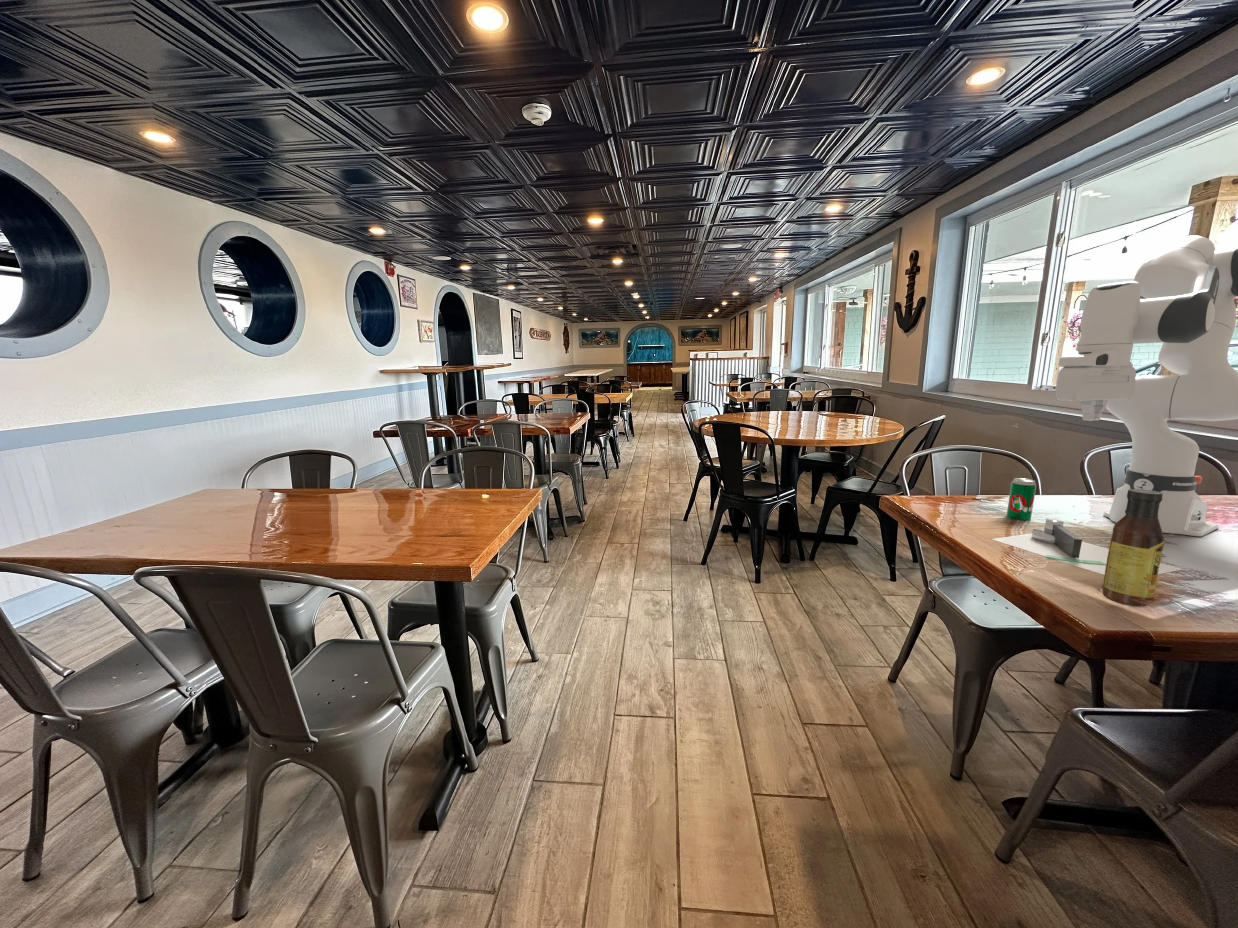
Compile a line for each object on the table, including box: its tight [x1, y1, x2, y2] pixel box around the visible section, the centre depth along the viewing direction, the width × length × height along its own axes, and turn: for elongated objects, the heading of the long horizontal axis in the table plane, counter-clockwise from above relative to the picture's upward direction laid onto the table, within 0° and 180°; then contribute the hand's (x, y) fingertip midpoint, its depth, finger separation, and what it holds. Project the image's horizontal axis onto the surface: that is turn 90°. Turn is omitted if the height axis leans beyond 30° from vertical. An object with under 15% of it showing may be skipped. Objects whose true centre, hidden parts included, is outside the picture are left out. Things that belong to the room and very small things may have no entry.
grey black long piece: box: [1031, 518, 1083, 558], centre depth 105 cm, size 16×7×4 cm, turn 156°
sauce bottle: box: [1102, 489, 1165, 607], centre depth 82 cm, size 6×6×20 cm
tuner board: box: [991, 532, 1184, 576], centre depth 102 cm, size 19×24×2 cm
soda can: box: [1005, 477, 1037, 522], centre depth 126 cm, size 5×5×12 cm
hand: (1090, 420), depth 107 cm, fingers closed
